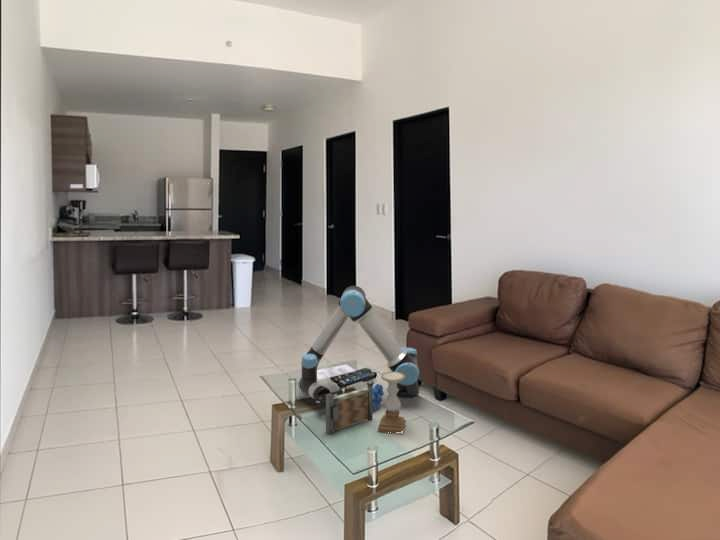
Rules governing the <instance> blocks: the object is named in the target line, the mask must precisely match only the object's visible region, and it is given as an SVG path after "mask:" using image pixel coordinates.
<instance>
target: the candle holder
mask: <svg viewBox="0 0 720 540" xmlns="http://www.w3.org/2000/svg"><path fill="white" fill-rule="evenodd" d="M380 378H381V380H383V381H385V382H387V384H388V387H387V388H386V391H387V393H388V396H387V398H386V399H385V401H384V403H383V407H384V408H385V409H386V410H385V412H384V414H385V415H383V416H382V417H381V419H380V422H379V424H378V426H377V432H378V433H383V434H392V433H396V432H401V431H403V430H404V431H405V429H404V426H405V427H406V425H405V423H406V424H407V421H406V419H405V417H404V416H400V411H399V410H400V409H401V407H402V403H401V401H400V399H399V398H398V396H397V395H396V394H397V392H398V391H399V389H398V388H397V383H398V382H399V381H402V380H404V378H405V376H404V374H402V373H399V372H392V371H386V372H383V373H382V374H381V376H380ZM388 432H389V433H388ZM390 432H391V433H390Z"/></svg>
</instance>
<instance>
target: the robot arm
mask: <svg viewBox="0 0 720 540" xmlns="http://www.w3.org/2000/svg"><path fill="white" fill-rule="evenodd" d="M349 318H350V320H351V321H352V322H353V323H357V324H358V325H359V327H360V328H361V329H362V330H363V332H364V333H366V335H367V336H368V338H369V339H370V340H371V342H372V343H373V344H374V345H375V347H376V348H377V349H378V350H379V352H380V353H381V354H382V356H383V357H384V359H386V361H387V364H386V366H387V367H388V369H389V370H390V372H399V373H402V374H404V376H405V378H404V380H402V381H399V382H398V383H397V388H398V389H399V391H398V392H397V394H396V395H397V398H398V397H399V398H411V397H412V398H413V396H414V397H416V395H417V396H418V395H419V394H420V386H419V383H418V379H419V377H420V369H419V365H418V357H417V356H418V352H417V349H415V348H413V347H404V346H403V347H400V346H399V345H398V343H397V342H396V341H395V339H394V338H393V337H392V336H391V335H390V333H389V332H388V330H387V329H386V327H385V326H384V325H383V324H382V322H381V321H380V320H379V319H378V317H377V316H376V315H375V314H374V312H373V306H372V304H371V303H370V302H369V301H368V298H367V297H366V293H365V290H363V288H362V287H360V286H357V285H351V286H348V287H346V288H345V289H344V291H343V292H342V295H341V297H340V300H338V302H337V308H336V309H335V311H334V312H333V314H332V315H331V317H330V318H329V320H328V321H327V323H326V324H325V326H324V327H323V329H321V330H322V331H321V332H320V333H319V335H318V336H317V338H316V339H315V341H314V343H313V344H312V346H311V347H310V349H309V350H308V351H307V352H306V354H303V355H302V356H301V362H300V363H301V377H300V378H299V380H298V382H297V387H298V389H299V390H300V391H301V392H302V393H303V394H306V395H308V396H309V397H310V398H312V399H314V401H315V405H319V406H322V407H324V408H326V395H327V394H330V393H331V394H332V395H334V397H335V396H339V395H341V394H340V392H337V393H336V394H334V393H333V392H331V390H330V389H329V388H327V387H326V386H325V385H322V384H321V383H319V382H318V366H319V364H320V362H321V360H322V359H323V357H324V355H325V354H326V352H327V351H328V349H330V347H331V345H332V344H333V342H334V340H336V338H337V337H338V335H339V333H340V331H341V330H342V329H343V327H344V326H345V324H346V323H347V322H348V320H349Z"/></svg>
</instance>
